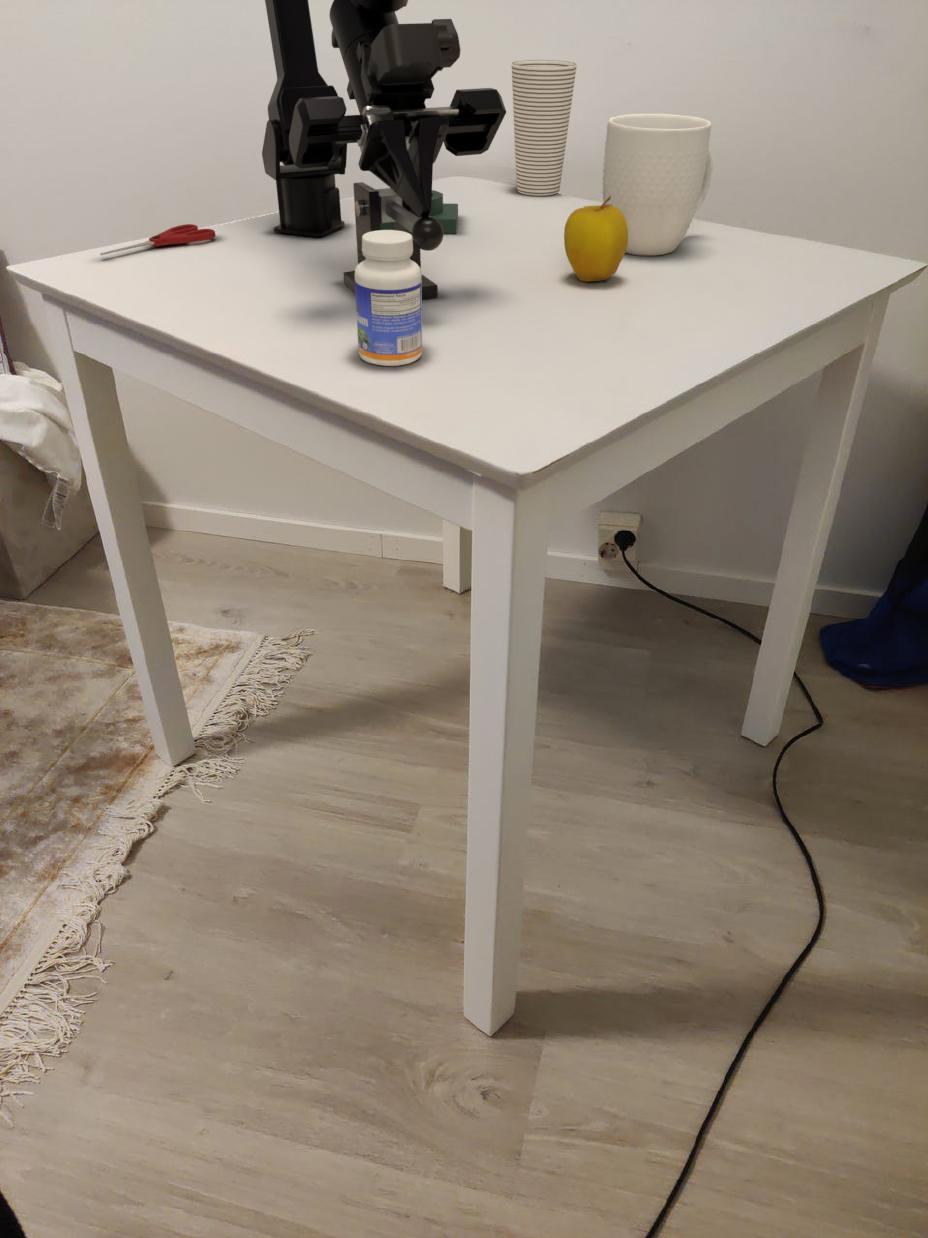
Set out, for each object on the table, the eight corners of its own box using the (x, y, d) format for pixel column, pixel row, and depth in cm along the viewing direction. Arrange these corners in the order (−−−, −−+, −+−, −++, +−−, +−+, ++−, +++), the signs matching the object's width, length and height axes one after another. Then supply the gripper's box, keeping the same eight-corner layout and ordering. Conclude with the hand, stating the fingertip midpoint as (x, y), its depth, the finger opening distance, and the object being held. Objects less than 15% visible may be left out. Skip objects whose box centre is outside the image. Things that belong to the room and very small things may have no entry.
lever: (448, 252, 84) (448, 219, 82) (419, 256, 83) (418, 222, 81) (395, 215, 93) (394, 184, 91) (368, 218, 92) (367, 187, 90)
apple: (630, 275, 100) (639, 193, 95) (612, 291, 95) (620, 206, 91) (573, 267, 102) (579, 187, 98) (552, 283, 97) (557, 200, 93)
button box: (372, 232, 114) (371, 201, 112) (379, 216, 120) (377, 187, 118) (456, 233, 114) (456, 202, 112) (458, 217, 120) (458, 187, 118)
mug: (662, 226, 117) (677, 106, 109) (735, 245, 110) (756, 118, 102) (576, 246, 109) (585, 118, 102) (648, 267, 102) (664, 132, 95)
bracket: (437, 297, 94) (436, 190, 88) (371, 306, 91) (365, 196, 85) (407, 275, 99) (404, 174, 94) (343, 283, 97) (336, 179, 91)
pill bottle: (359, 345, 82) (352, 227, 77) (421, 343, 83) (419, 226, 77) (358, 368, 78) (351, 245, 72) (424, 366, 78) (422, 243, 73)
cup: (503, 196, 130) (507, 65, 121) (511, 183, 137) (515, 58, 128) (565, 199, 129) (574, 67, 120) (570, 186, 136) (578, 60, 127)
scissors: (219, 238, 111) (218, 229, 110) (115, 263, 102) (113, 253, 101) (190, 230, 114) (189, 221, 113) (87, 254, 105) (85, 245, 104)
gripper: (283, -20, 74) (339, 161, 72) (499, -22, 80) (556, 144, 78) (268, 85, 84) (317, 245, 82) (460, 75, 90) (509, 224, 89)
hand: (425, 213), depth 83 cm, fingers closed
